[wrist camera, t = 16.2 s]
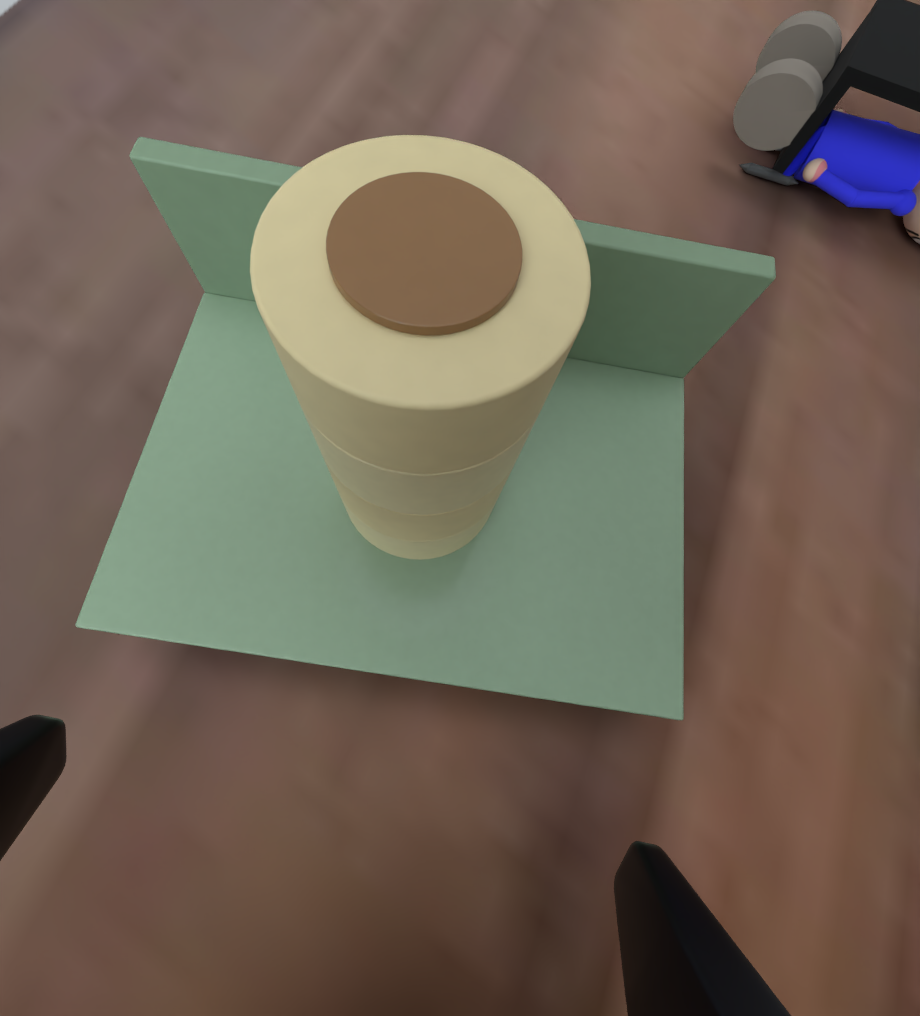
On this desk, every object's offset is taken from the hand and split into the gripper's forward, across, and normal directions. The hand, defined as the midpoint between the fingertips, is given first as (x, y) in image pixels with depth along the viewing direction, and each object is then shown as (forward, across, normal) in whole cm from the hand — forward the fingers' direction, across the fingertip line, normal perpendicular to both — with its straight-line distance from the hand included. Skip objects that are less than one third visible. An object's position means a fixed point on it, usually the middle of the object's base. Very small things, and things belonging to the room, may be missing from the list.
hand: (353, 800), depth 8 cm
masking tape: (+10, 0, -2) cm, 10 cm away
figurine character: (+28, -18, -19) cm, 38 cm away
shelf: (+13, 0, 0) cm, 13 cm away
